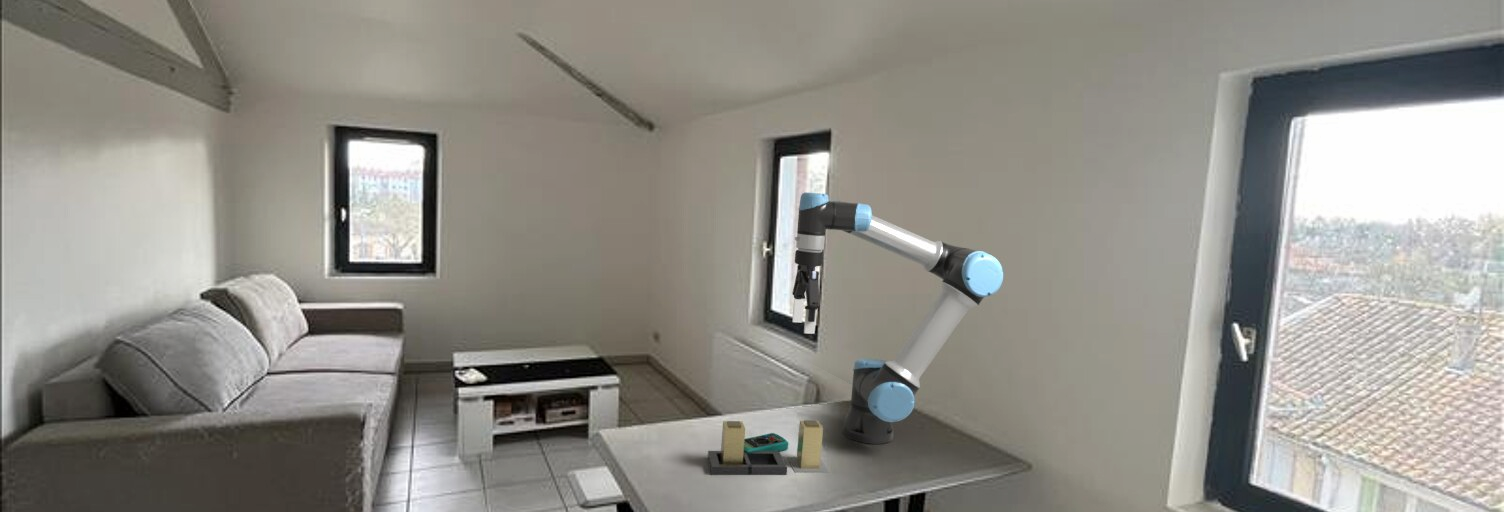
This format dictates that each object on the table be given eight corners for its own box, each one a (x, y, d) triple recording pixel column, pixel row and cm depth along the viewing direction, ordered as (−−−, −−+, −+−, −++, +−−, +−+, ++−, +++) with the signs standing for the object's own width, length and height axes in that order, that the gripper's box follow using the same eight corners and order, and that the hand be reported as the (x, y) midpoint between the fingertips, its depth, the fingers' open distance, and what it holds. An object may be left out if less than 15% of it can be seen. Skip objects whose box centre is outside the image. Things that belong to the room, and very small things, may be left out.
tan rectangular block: (814, 460, 181) (818, 419, 179) (819, 468, 176) (823, 426, 175) (796, 460, 180) (799, 419, 179) (800, 468, 175) (804, 426, 174)
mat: (819, 459, 183) (819, 457, 183) (828, 474, 174) (828, 471, 174) (787, 459, 181) (787, 457, 181) (794, 474, 173) (794, 471, 173)
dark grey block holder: (778, 460, 181) (779, 451, 180) (786, 476, 171) (787, 467, 170) (707, 460, 177) (708, 450, 177) (711, 476, 167) (712, 467, 167)
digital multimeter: (789, 450, 187) (790, 440, 186) (746, 460, 178) (747, 449, 178) (773, 440, 193) (774, 430, 192) (730, 450, 184) (731, 439, 183)
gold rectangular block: (739, 462, 176) (742, 419, 175) (742, 470, 171) (745, 427, 170) (720, 462, 175) (723, 419, 174) (722, 470, 170) (725, 426, 169)
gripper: (786, 244, 194) (780, 317, 196) (807, 254, 169) (800, 337, 172) (811, 246, 195) (805, 318, 197) (836, 256, 171) (828, 338, 173)
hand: (802, 327), depth 185 cm, fingers open, 13 cm apart
